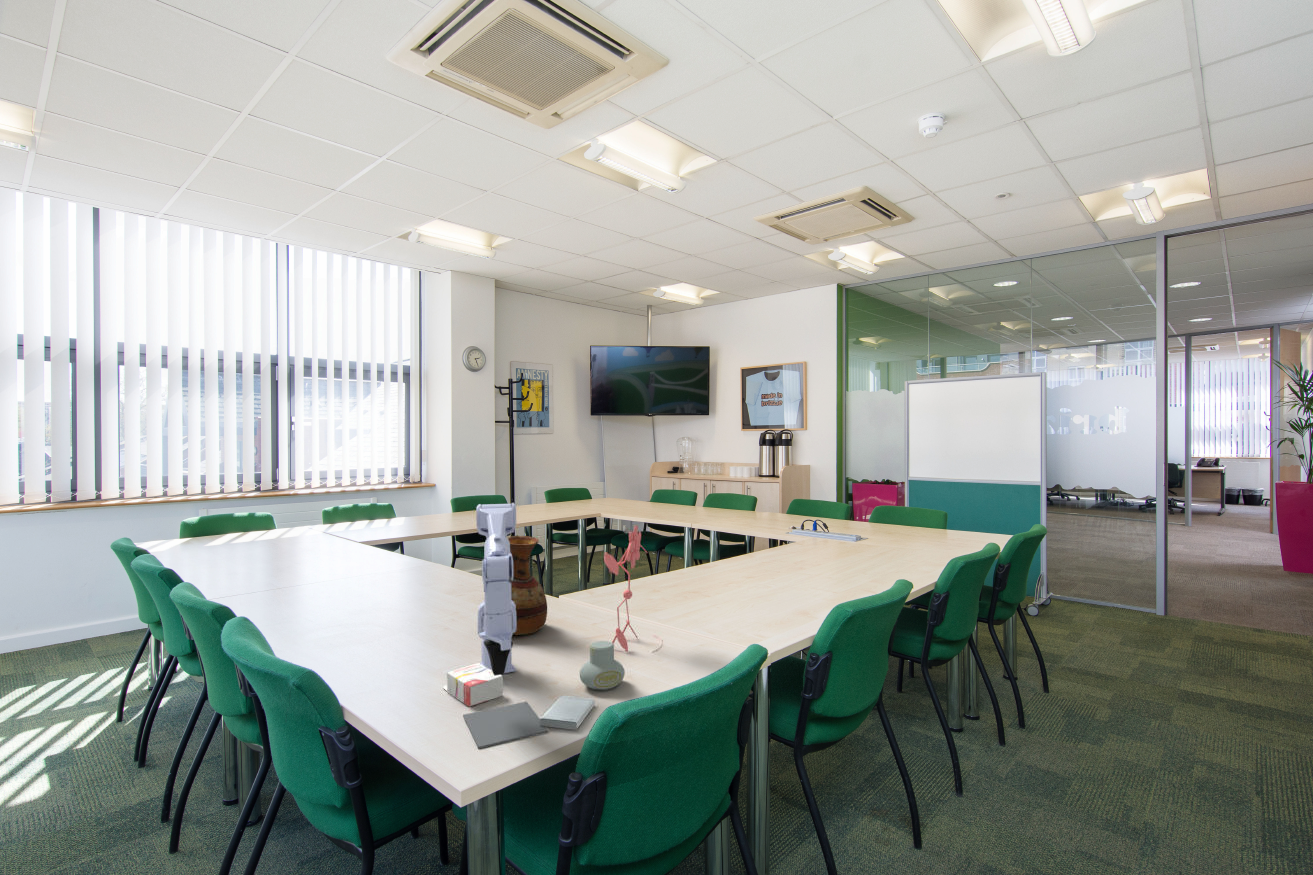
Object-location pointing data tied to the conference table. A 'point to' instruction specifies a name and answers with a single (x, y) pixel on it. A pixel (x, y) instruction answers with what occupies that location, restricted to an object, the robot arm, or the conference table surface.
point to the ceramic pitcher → (526, 588)
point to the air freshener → (602, 667)
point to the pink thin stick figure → (613, 567)
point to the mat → (503, 724)
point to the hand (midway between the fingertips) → (498, 673)
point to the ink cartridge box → (474, 684)
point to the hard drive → (567, 712)
